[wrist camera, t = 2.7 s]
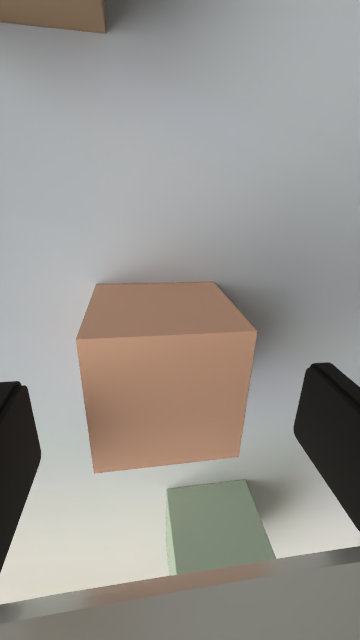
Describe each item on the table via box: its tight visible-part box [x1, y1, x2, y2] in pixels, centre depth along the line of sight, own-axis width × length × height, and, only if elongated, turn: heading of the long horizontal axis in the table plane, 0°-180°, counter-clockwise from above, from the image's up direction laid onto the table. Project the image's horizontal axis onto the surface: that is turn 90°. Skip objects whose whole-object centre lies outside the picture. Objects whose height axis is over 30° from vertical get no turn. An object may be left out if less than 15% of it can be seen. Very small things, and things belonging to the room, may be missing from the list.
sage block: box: [166, 479, 276, 576], centre depth 17 cm, size 5×5×5 cm
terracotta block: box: [76, 282, 257, 473], centre depth 11 cm, size 5×5×5 cm
